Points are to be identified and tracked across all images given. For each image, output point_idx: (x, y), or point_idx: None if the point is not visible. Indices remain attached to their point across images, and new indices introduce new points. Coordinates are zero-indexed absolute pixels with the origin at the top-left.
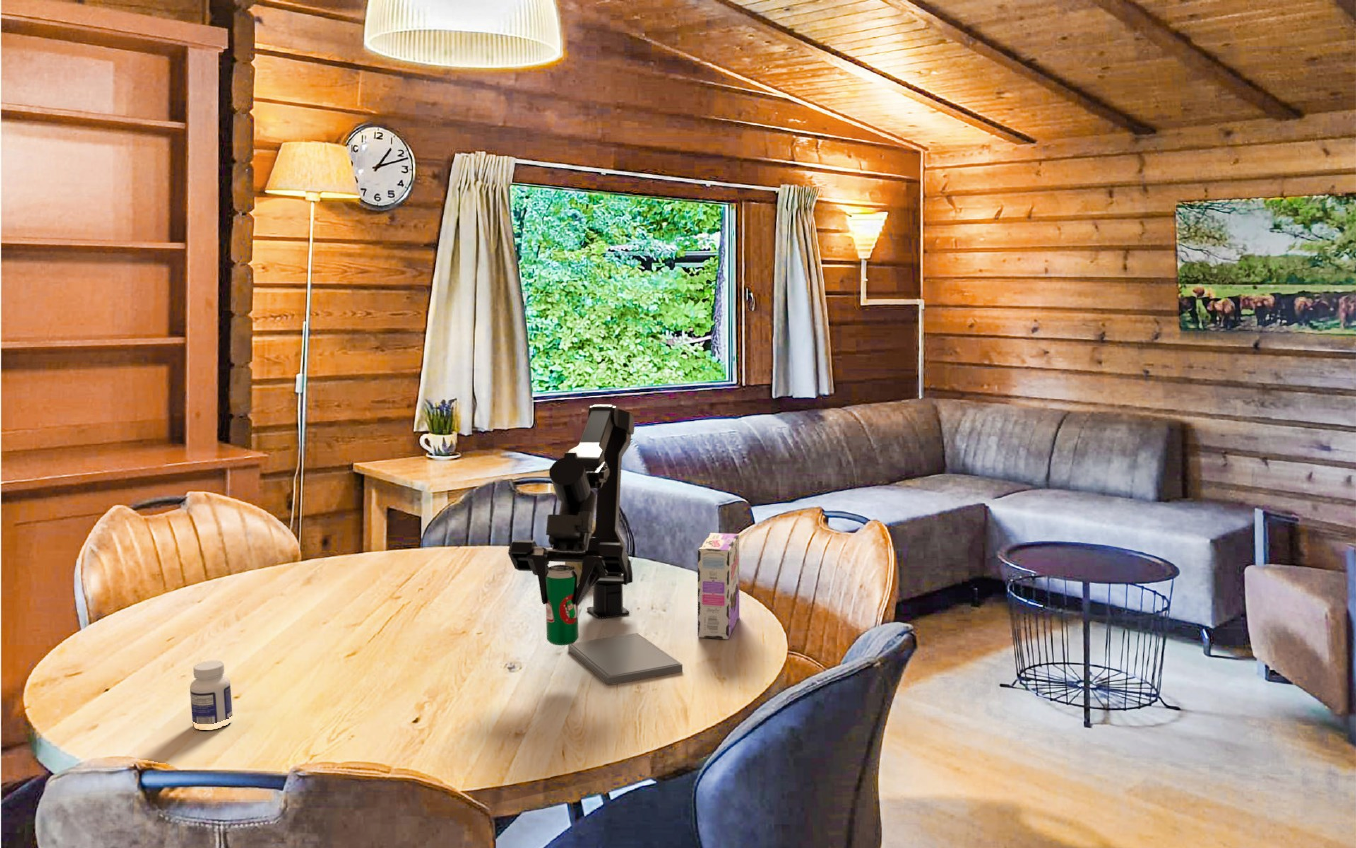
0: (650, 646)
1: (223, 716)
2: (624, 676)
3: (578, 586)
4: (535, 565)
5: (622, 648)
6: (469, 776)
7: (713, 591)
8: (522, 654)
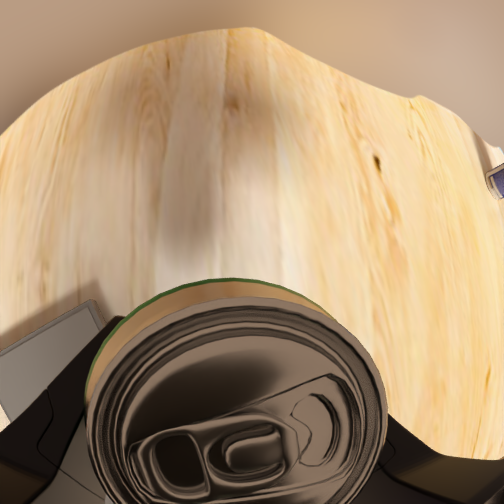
0: None
1: (491, 173)
2: (62, 315)
3: None
4: (455, 458)
5: None
6: (263, 40)
7: None
8: None
